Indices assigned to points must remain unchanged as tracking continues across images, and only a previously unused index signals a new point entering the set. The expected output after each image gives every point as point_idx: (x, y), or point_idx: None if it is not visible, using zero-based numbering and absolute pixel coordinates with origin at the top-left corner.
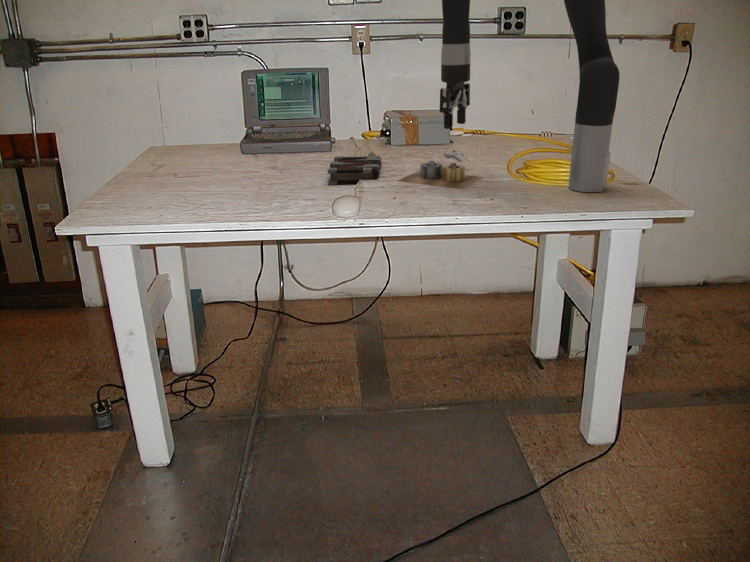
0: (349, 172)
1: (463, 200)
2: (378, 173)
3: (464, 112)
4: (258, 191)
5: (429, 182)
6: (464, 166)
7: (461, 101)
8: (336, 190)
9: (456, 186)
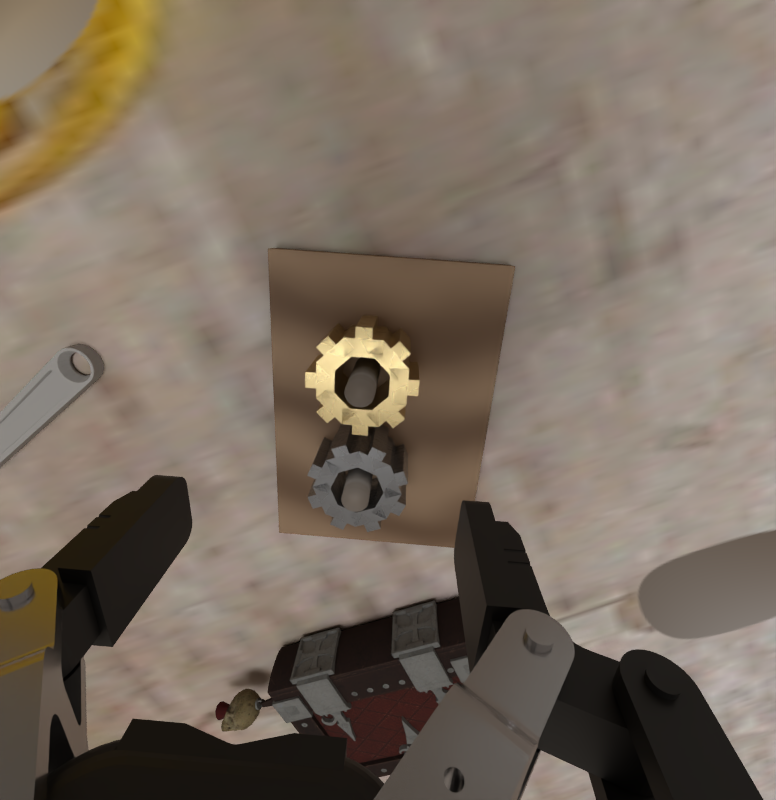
0: None
1: (602, 231)
2: (437, 625)
3: (112, 549)
4: None
5: (452, 438)
6: (327, 339)
7: (60, 725)
8: None
9: (481, 312)
